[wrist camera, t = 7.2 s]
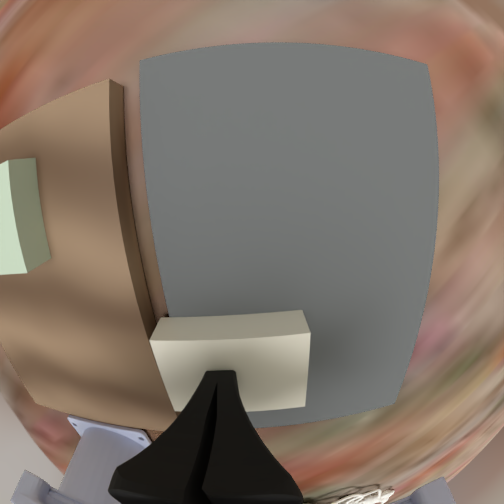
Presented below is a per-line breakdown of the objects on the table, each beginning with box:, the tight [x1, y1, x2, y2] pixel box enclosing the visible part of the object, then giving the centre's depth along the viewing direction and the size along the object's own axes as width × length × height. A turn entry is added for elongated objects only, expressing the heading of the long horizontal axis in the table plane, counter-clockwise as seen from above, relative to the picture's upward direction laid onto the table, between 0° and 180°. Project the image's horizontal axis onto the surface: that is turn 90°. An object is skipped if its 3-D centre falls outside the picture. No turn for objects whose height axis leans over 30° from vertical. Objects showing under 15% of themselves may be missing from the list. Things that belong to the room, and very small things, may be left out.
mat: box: [140, 43, 439, 428], centre depth 13 cm, size 22×14×1 cm, turn 4°
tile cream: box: [149, 310, 311, 412], centre depth 13 cm, size 5×7×2 cm
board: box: [0, 79, 181, 431], centre depth 12 cm, size 20×14×2 cm
